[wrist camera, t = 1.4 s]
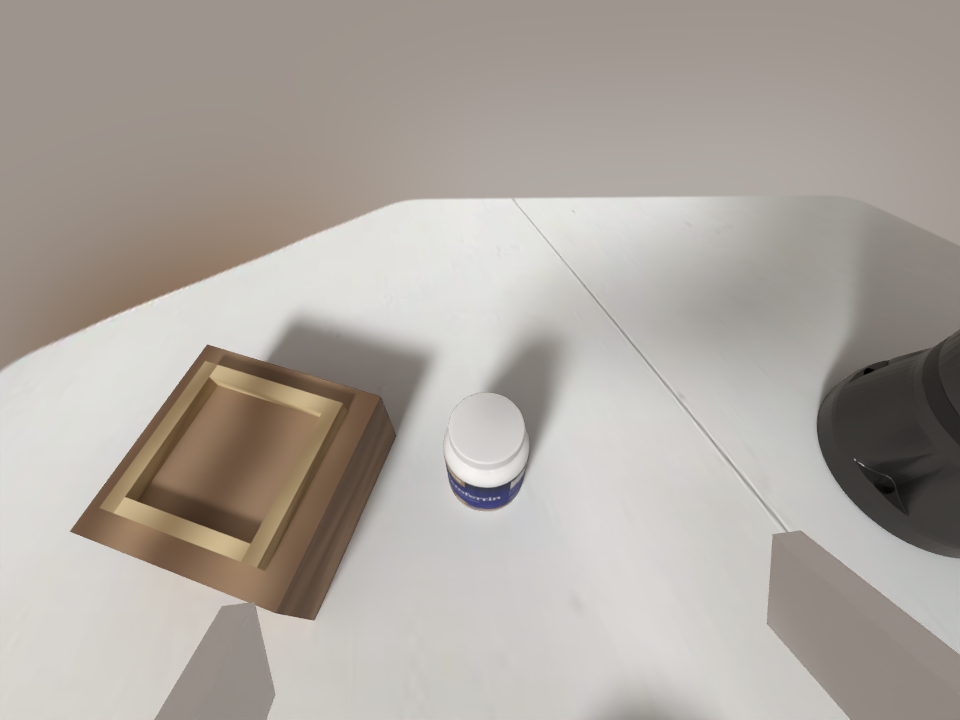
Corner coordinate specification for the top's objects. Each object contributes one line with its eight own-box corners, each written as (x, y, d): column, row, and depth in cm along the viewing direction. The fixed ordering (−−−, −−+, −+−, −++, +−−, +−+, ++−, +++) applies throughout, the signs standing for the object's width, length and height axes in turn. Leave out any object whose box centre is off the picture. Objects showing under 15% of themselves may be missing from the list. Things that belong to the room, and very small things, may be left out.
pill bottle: (436, 494, 37) (421, 447, 28) (468, 431, 40) (464, 370, 31) (505, 526, 36) (512, 487, 27) (533, 459, 38) (548, 404, 30)
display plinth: (396, 435, 39) (377, 388, 32) (314, 620, 33) (267, 611, 26) (246, 388, 42) (199, 335, 35) (140, 552, 35) (54, 526, 28)
